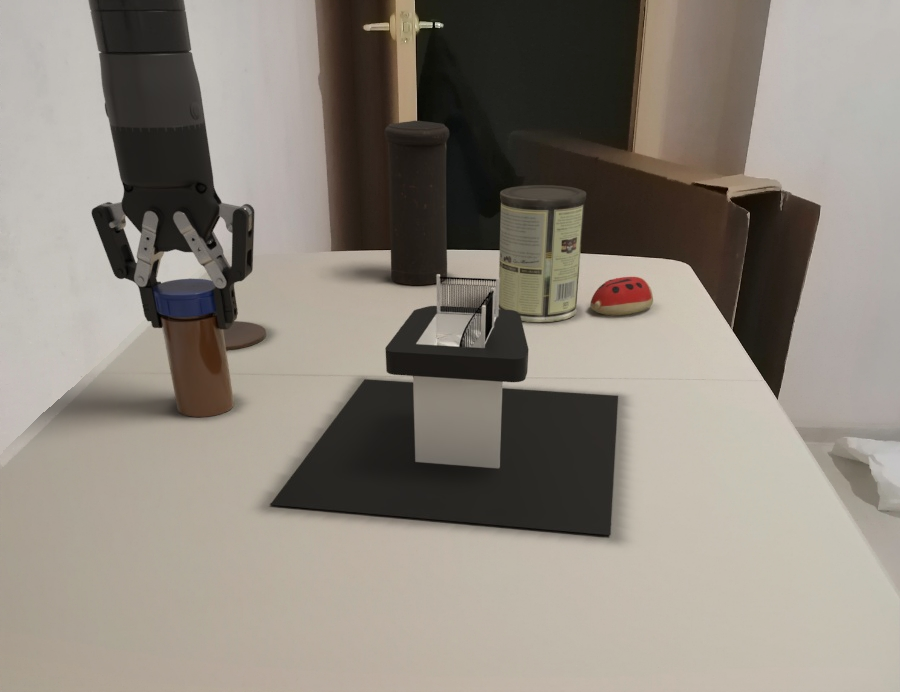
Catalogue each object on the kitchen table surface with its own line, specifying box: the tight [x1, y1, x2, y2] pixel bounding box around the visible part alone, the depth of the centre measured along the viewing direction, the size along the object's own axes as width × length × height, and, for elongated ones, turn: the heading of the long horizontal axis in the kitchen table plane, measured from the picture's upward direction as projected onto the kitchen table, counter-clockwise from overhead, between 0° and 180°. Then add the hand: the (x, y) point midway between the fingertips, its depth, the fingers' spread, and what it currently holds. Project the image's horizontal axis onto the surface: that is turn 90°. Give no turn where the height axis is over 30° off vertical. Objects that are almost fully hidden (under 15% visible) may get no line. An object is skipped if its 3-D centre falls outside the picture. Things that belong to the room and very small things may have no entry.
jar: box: [160, 311, 235, 418], centre depth 80 cm, size 5×5×11 cm
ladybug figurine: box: [590, 276, 654, 316], centre depth 109 cm, size 7×10×4 cm
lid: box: [153, 278, 216, 317], centre depth 77 cm, size 6×6×2 cm
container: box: [384, 120, 450, 286], centre depth 117 cm, size 9×9×20 cm
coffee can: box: [498, 184, 587, 323], centre depth 105 cm, size 10×10×14 cm
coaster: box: [223, 320, 267, 351], centre depth 100 cm, size 10×10×1 cm
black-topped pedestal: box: [270, 274, 619, 536], centre depth 71 cm, size 28×26×13 cm
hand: (192, 325), depth 78 cm, fingers closed on lid, 5 cm apart
